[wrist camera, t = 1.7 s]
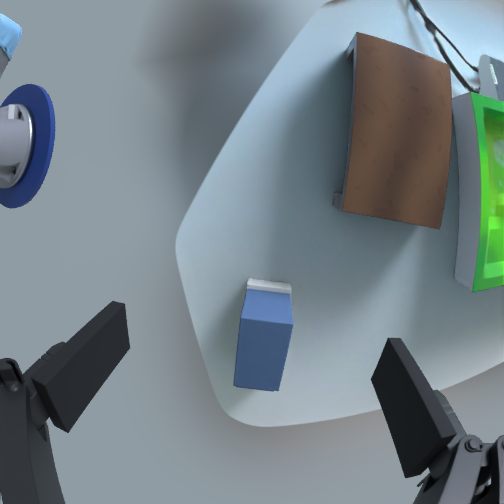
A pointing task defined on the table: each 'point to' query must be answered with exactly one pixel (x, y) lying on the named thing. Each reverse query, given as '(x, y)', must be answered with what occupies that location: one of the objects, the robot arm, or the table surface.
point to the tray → (480, 190)
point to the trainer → (263, 335)
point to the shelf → (397, 134)
